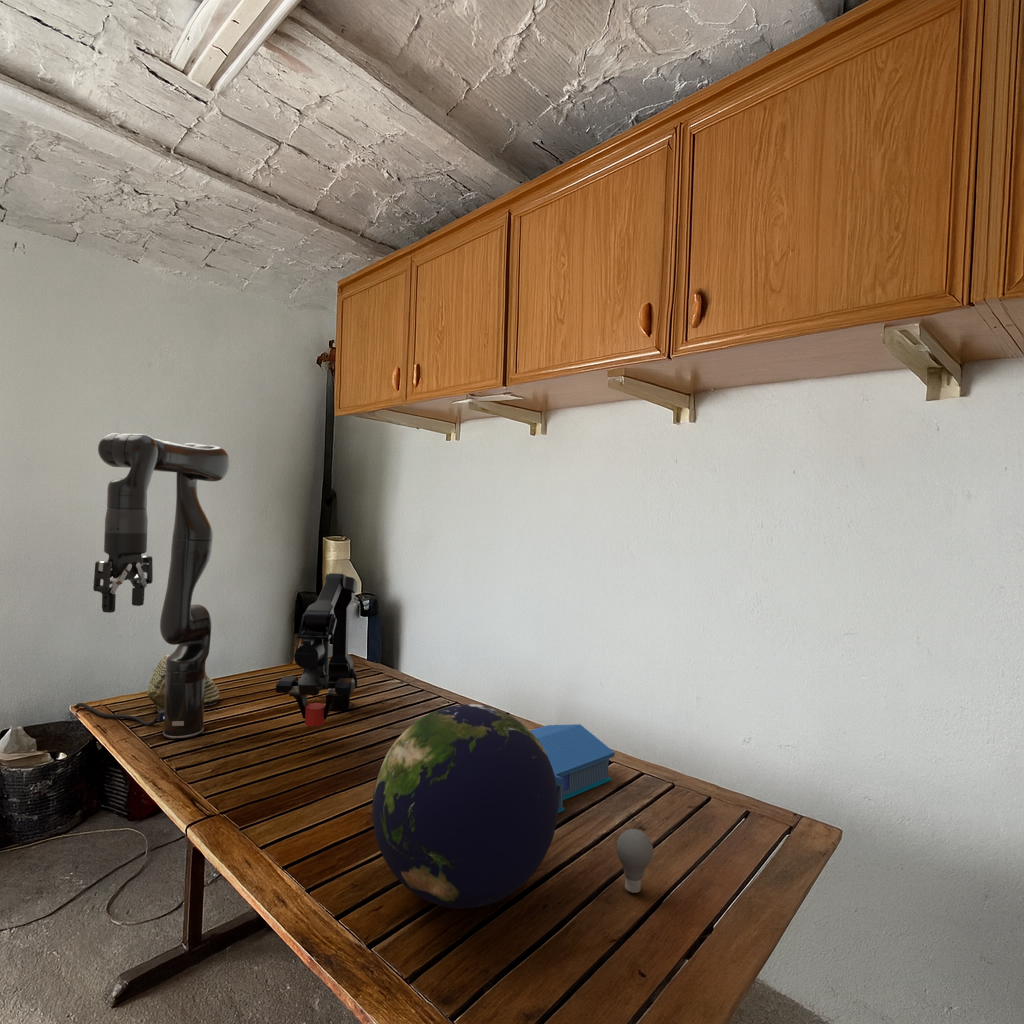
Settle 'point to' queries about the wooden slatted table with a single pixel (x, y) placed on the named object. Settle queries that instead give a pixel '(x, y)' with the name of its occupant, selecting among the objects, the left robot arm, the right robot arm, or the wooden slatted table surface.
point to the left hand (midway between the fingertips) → (123, 608)
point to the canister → (314, 714)
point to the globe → (465, 806)
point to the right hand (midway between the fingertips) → (314, 718)
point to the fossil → (158, 687)
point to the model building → (574, 758)
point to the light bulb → (634, 857)
